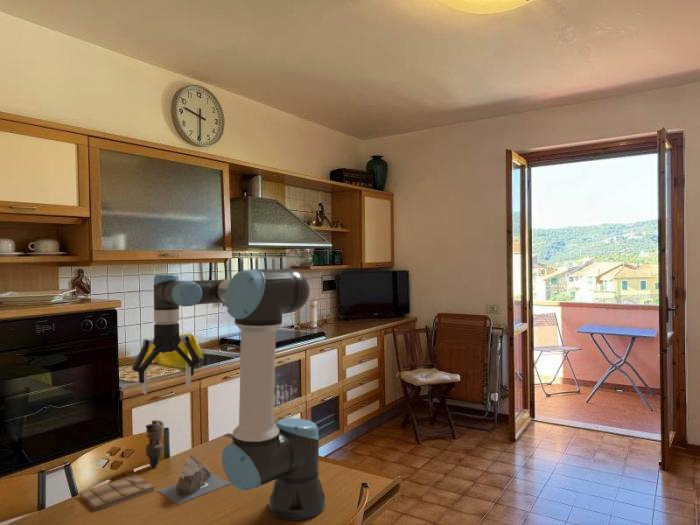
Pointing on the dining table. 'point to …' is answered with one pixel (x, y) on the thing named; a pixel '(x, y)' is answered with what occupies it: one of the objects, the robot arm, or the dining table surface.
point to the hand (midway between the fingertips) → (167, 389)
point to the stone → (192, 476)
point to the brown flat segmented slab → (116, 492)
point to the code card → (206, 487)
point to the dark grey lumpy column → (154, 441)
